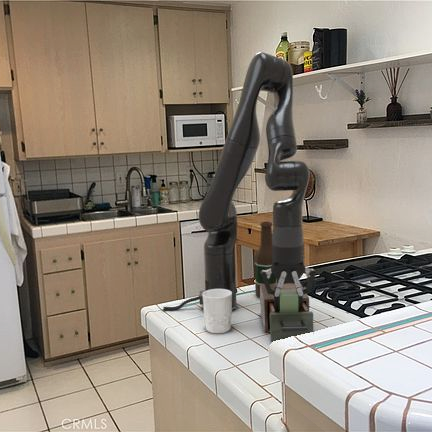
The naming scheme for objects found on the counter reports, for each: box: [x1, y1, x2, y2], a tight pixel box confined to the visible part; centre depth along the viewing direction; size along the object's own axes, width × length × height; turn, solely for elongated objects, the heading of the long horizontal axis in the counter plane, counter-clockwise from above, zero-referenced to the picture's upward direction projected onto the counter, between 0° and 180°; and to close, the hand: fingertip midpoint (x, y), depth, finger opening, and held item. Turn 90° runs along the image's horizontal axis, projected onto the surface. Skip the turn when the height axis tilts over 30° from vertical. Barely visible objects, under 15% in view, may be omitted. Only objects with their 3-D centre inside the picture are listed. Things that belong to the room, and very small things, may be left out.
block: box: [279, 290, 298, 312], centre depth 126 cm, size 4×4×4 cm
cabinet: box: [259, 282, 310, 334], centre depth 137 cm, size 14×12×9 cm
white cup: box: [202, 289, 233, 334], centre depth 135 cm, size 8×8×10 cm
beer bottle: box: [254, 221, 277, 299], centre depth 160 cm, size 8×8×24 cm
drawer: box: [268, 301, 314, 343], centre depth 126 cm, size 17×10×7 cm, turn 179°
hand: (288, 309), depth 126 cm, fingers closed on block, 4 cm apart
